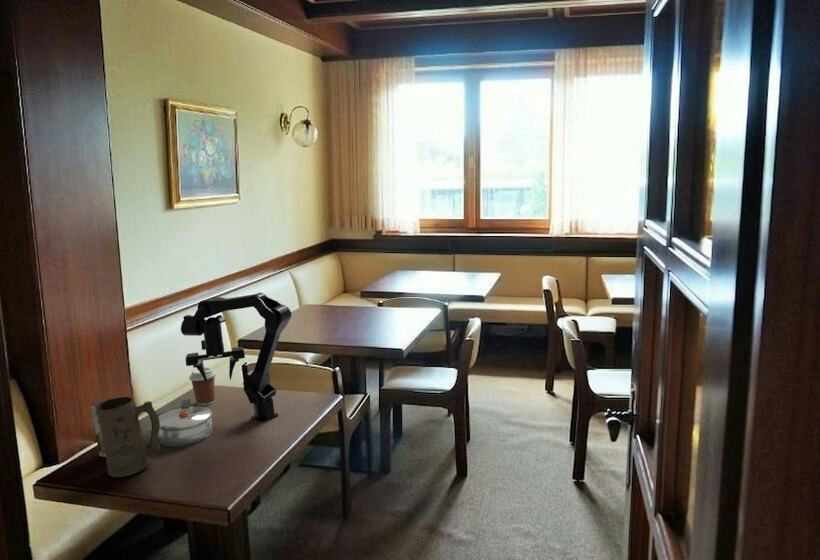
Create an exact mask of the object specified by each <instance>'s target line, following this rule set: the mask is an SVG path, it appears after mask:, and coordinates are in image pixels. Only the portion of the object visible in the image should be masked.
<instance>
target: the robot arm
mask: <svg viewBox="0 0 820 560" xmlns="http://www.w3.org/2000/svg"><path fill="white" fill-rule="evenodd" d="M246 308H247V309H248V308H254V309H255V310H256V312H257V313H258V315H259V316H260V317H261V318H263V319H264V328H265V334H264V337H263V340H262V343H261V346H260V350H259V353H258V355H257V359H256V362H255V366H254V368H253V369H251V370H250V371H248V372H247V373H246V374H245V375H244V376H245V377H244V381H243V383H242V386H243V392H244V393H245V394H246V397H247V399H248V401H249V403H250V404H251V405H252V404H253V411H254V412H253V413H254V415H252V416H250V417H251V418H250V419H253V420H255V421H256V420H257V421H260V422H266V421H269V420H271V419H273V418H276V417H278V416H279V414H278V413H276V412H275V409H274V407H275V406H274V398H273V397H275V396H276V394H277V389H276V388H275V387H274V386H273V384H271V383H270V381H271V377H270V368H271V365H272V362H273V359H274V356H275V352H276V348H277V345H278V343H279V339H280V336H281V334H282V332H283V331H284V329H286V327H287V325H288V323H289V322H290V320H291V319H292V311H291V310H290V307H288V306H287V305H285V304H283V303H281V302H279V301H278V300H276V299H274V298H272V297H269V296H267V294H265V293H264V292H257V293H253V294H247V295H242V296H235V297H229V298H227V297H222V296H220V297H219V296H212V297H208V298H207V299H203V300H201V301H198V304H197V310H195V313H194V314H193V315H191V314H186V315H184V316H183V320H182V322H181V325H180V332H181V334H182V335H183V336H193V337H194V336H195V337H196V336H197V337H199V336H203V339H204V340H200V344H201V345H200V346H201V350H202V351H205V354H200V355H199V352H192V353H187V354H186V355H185V365H186V367H191V366H192V367H193V368H195V369H198V370H199V372H200V373H201V375H202V376H203V378H204V380H205V382H206V383H207V377H206V373H205V369H204V367H205V366H204V361H209V360H216V359H217V360H218V359H224V358H229V365H228V366H229V367H228V368H229V371H228V375H229V380H231V379H232V376H233V372H234V368H235V366H236V363H237V362H239V361H240V360H241V359H245V358H246V355H245V354H246V353H245V348H244V347H243V346H238V347H232V348H231V350H229V351H227V350H226V351H225V345H224V340H223V332H222V331H223V330H222V323H224V322H226V321H227V319H226V318H225V317H224V316H222V315H221V314H220V313H224V312H227V311H228V312H229V311H234V310H242V309H246ZM218 314H219V315H218ZM215 315H216V316H215Z"/></svg>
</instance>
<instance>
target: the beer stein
mask: <svg viewBox="0 0 820 560" xmlns="http://www.w3.org/2000/svg"><path fill="white" fill-rule="evenodd" d="M141 413H146V414H148V416H149V419H150V421H151V435H150V440H149V441H150V442H149V443H148V444H146V442H145V438H144V434H143V431H142V428H141V423H140V419H139V415H140V414H141ZM157 414H158V413H157V412H156V410H155V409H154V407H153V402H152V401H150V400H148V401H145V402H144V403H143V404H141V405H138V406H137V404H136V402H135V400H134V398H133V397H131V396H130V397H129V396H123V397H122V396H121V397H115V398H114V399H110V400H106V401H104V402H102V403H100V404H98V405H97V407H96V415H97V417H98V419H99V423H100V428H101V433H102V439H103V444H104V449H105V454H106V457H105V458H106V461H105V464H106V466H107V472H108V473H107V474H108V475H109V476H110V477H112V478H123V477H128V476H132V475H135V474H137V473H139V472H141V471H143V470H144V469H145V468H147V467H148V466H149V464H150V459H149V456H148V454H149V453H150V452H153V451H154V452H159V451H160V449H161V443H159V442H158V439H159V436H158V434H159V428H160V423H159V417H158V415H157Z"/></svg>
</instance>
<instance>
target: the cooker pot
mask: <svg viewBox="0 0 820 560" xmlns="http://www.w3.org/2000/svg"><path fill="white" fill-rule="evenodd" d="M163 413H166V412H164V411H162V412H160V413H157V415H158V417H159V416H160V415H162V414H163ZM212 421H213V420H212V417H211V418H210V419H209V420H208V421H206V422H205V423H203V424H201V425H198V426H195V427H192V428H187V429H182V430H162V429H159V434H158V441H159V442H158V443H159V444H160V445H162V446H167V447H181V446H182V445H183V446H188V444H189V445H192V444H191V443H193V444H196V443H198V442H197V441H199V440H202V439H204V438H206V437H207V438H209V437H210V436H211V435H212V434H213V432H214V429H213V424H212V423H213V422H212ZM212 431H213V432H212ZM211 433H212V434H211ZM210 434H211V435H210ZM209 435H210V436H209ZM208 436H209V437H208ZM207 438H206V439H207ZM204 440H205V439H204ZM202 441H203V440H202ZM195 442H196V443H195ZM199 442H200V441H199Z"/></svg>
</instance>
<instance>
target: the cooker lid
mask: <svg viewBox="0 0 820 560" xmlns="http://www.w3.org/2000/svg"><path fill="white" fill-rule="evenodd" d="M181 402H182V403H181V407H179V408H174V409H171V410H169V411H166V412H165V413H163V414H162V415H160V416H159V423H160V428H159V429H162V430H182V429H187V428H192V427H195V426H198V425H201V424H203V423H205V422H206V421H208V420H209V419H210V418H211V419H212V416H213V413H212V410H211V408H209V407H208V406H207V407H206V406H199V405H194V406H192V405H191V399H183V400H182V401H181Z"/></svg>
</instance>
